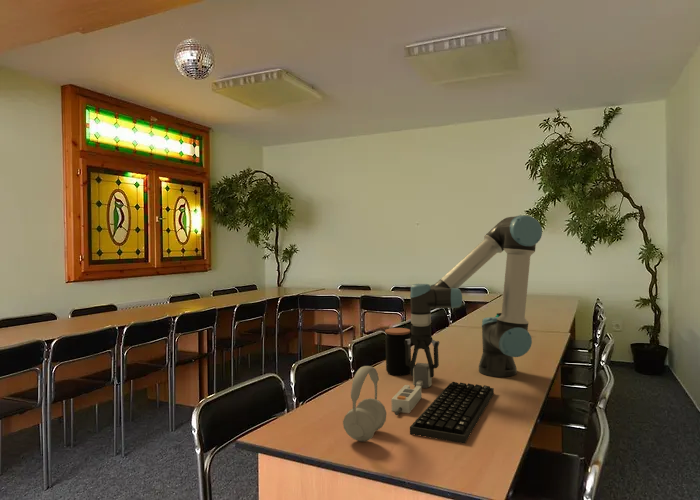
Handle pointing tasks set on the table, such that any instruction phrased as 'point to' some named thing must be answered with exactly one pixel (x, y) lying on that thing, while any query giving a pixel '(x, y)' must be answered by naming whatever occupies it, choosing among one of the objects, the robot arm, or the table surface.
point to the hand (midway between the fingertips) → (422, 384)
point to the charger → (421, 375)
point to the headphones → (364, 409)
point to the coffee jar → (396, 351)
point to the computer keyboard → (453, 412)
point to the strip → (406, 399)
